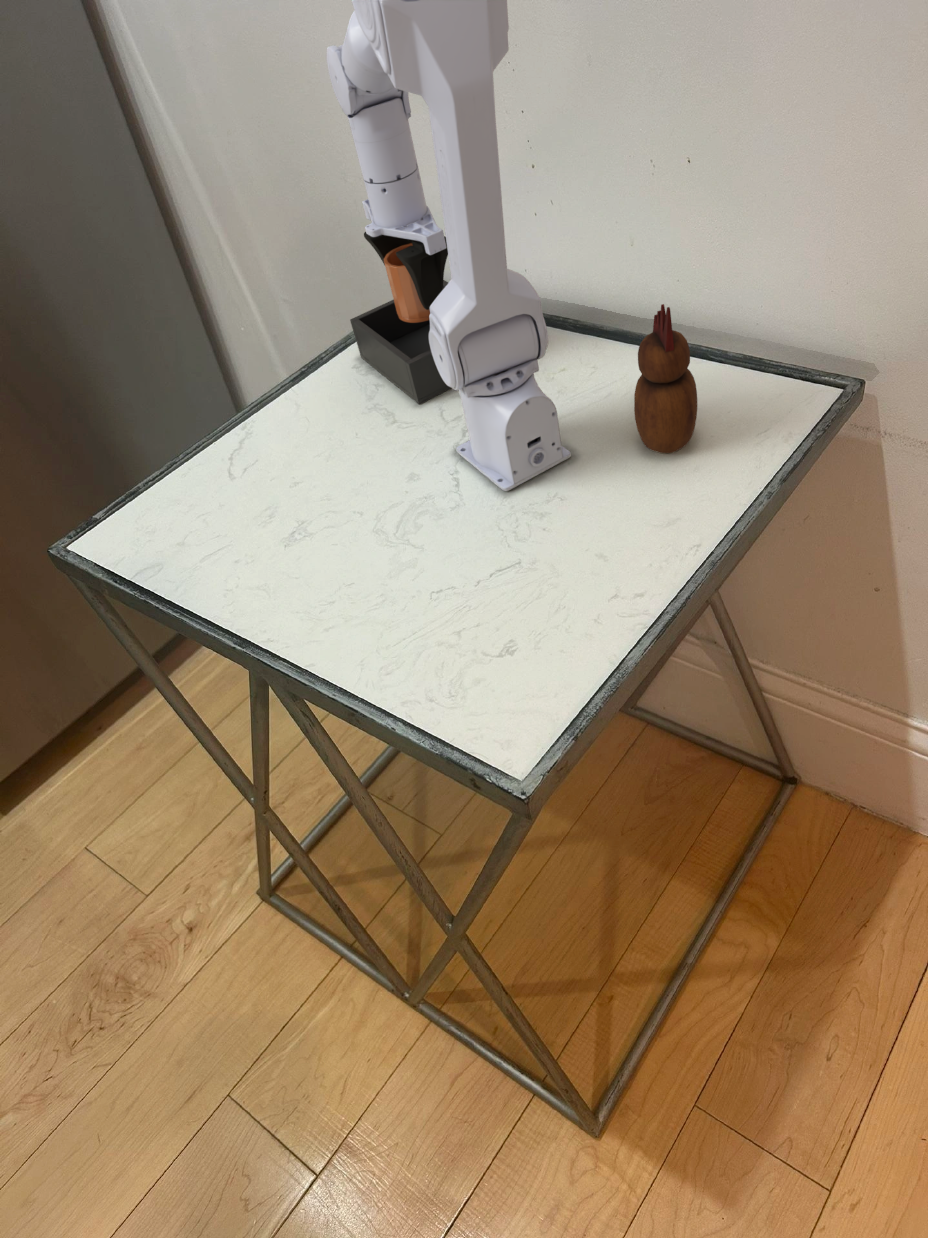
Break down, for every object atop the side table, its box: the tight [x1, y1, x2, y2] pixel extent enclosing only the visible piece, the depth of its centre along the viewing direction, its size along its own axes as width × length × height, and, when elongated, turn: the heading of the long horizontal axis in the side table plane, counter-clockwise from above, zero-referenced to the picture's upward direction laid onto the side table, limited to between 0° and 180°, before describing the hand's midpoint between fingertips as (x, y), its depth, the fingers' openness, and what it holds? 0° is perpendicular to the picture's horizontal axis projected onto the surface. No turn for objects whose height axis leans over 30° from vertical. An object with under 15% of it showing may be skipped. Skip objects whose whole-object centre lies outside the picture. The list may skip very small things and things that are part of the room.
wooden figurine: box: [633, 303, 698, 454], centre depth 86 cm, size 7×6×15 cm
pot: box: [383, 243, 430, 323], centre depth 104 cm, size 6×6×6 cm
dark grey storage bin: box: [349, 279, 452, 405], centre depth 109 cm, size 15×13×5 cm
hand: (419, 296), depth 105 cm, fingers closed on pot, 5 cm apart
